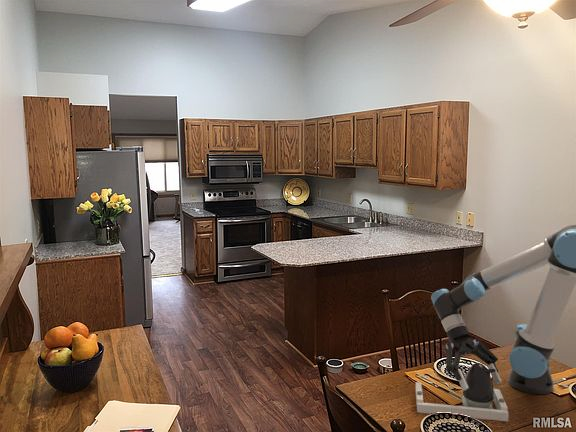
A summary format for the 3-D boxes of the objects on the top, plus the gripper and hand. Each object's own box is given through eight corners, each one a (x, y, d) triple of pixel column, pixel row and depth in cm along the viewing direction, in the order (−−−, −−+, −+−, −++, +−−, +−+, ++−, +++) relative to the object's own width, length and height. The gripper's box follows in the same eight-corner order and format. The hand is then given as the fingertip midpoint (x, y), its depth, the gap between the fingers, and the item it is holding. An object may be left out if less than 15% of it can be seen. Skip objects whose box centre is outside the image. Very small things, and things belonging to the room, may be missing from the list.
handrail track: (499, 399, 166) (499, 387, 165) (508, 421, 152) (508, 408, 151) (415, 392, 172) (415, 380, 172) (417, 412, 159) (417, 399, 158)
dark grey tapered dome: (492, 416, 155) (493, 373, 153) (459, 407, 160) (460, 366, 158) (496, 402, 163) (497, 361, 161) (465, 394, 169) (466, 355, 167)
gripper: (478, 329, 177) (506, 384, 165) (422, 337, 170) (446, 395, 158) (489, 320, 172) (518, 376, 159) (431, 329, 164) (456, 388, 152)
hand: (482, 386), depth 158 cm, fingers open, 13 cm apart
